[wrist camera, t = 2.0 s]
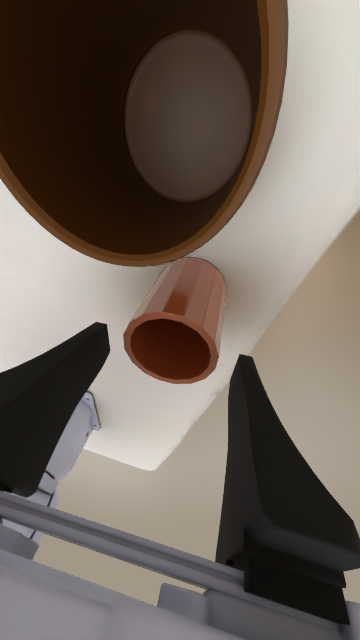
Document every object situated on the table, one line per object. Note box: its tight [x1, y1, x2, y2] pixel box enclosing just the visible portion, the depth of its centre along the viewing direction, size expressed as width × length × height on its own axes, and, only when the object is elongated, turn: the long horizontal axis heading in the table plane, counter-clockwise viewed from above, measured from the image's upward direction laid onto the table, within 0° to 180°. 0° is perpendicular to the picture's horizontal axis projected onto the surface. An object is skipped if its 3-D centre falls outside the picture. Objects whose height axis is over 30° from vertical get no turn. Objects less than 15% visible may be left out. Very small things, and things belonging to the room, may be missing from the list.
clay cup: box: [123, 257, 226, 384], centre depth 15 cm, size 5×5×7 cm
